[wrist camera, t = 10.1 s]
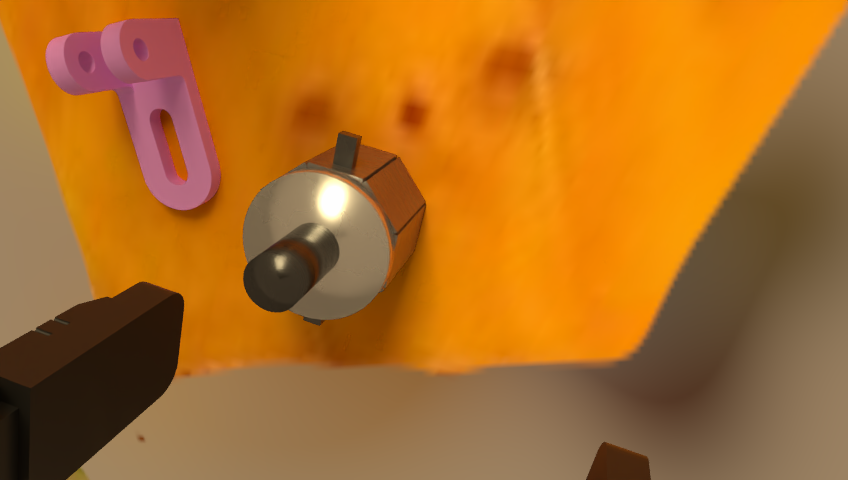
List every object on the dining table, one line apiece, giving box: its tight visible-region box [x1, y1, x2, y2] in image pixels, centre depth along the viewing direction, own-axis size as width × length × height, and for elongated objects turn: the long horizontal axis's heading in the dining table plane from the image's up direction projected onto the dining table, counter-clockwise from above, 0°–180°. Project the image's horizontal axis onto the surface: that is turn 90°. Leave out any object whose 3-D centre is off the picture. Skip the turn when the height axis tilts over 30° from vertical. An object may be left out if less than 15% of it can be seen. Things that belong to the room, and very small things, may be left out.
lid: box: [243, 168, 394, 320], centre depth 38 cm, size 9×9×7 cm
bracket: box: [46, 18, 221, 210], centre depth 46 cm, size 13×6×7 cm, turn 11°
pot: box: [260, 131, 426, 326], centre depth 44 cm, size 13×9×7 cm
